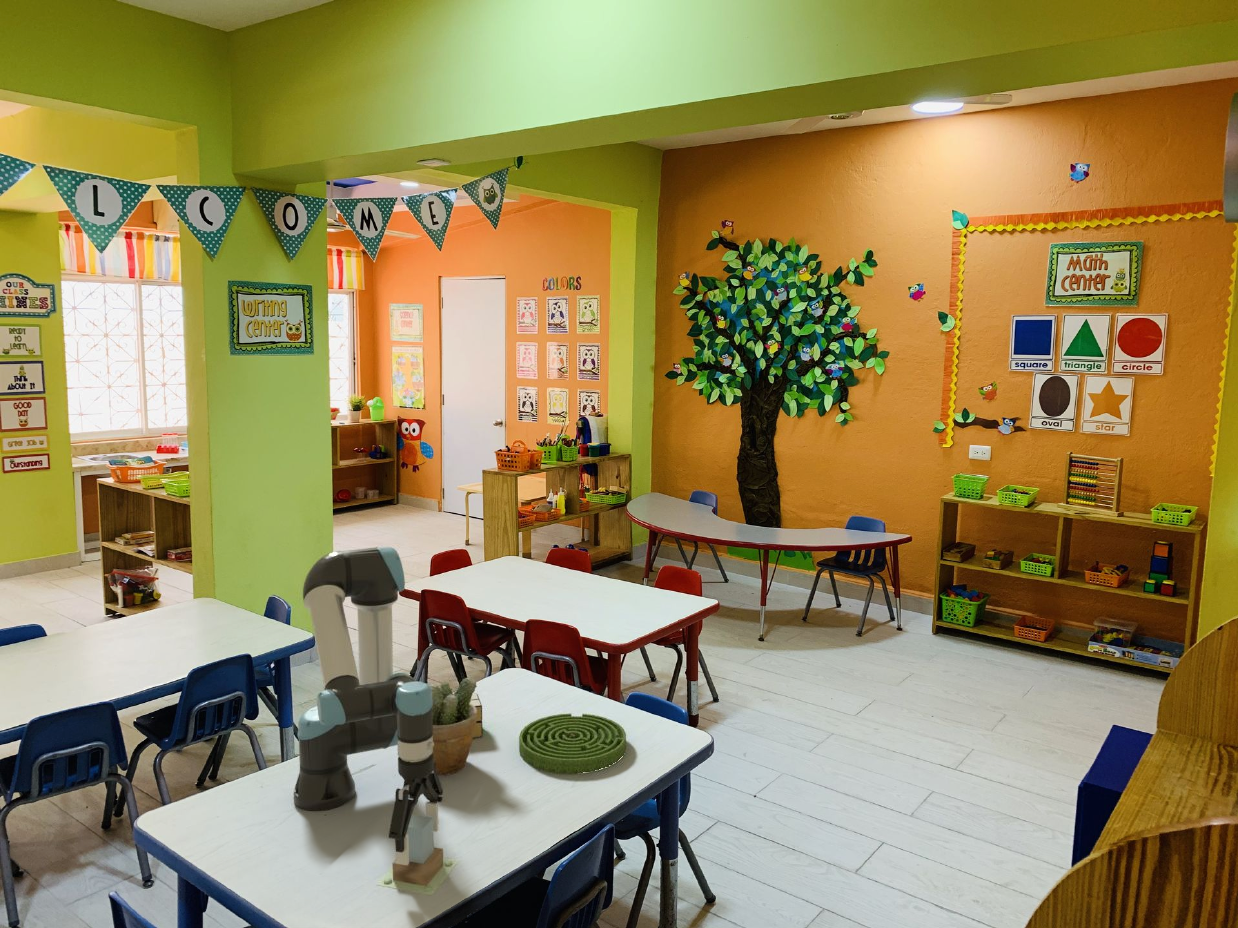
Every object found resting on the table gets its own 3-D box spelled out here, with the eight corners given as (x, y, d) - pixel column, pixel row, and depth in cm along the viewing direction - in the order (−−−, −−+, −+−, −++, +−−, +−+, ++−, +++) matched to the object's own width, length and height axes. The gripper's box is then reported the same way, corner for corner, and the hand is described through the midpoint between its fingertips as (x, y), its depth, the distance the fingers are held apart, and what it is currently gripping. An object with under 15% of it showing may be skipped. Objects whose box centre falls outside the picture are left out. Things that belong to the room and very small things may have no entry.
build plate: (376, 888, 193) (376, 883, 193) (406, 855, 205) (406, 850, 205) (431, 899, 189) (431, 893, 189) (458, 864, 202) (458, 859, 202)
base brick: (393, 879, 194) (392, 862, 194) (410, 859, 202) (410, 842, 201) (426, 885, 192) (426, 868, 192) (443, 865, 200) (442, 848, 199)
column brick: (402, 860, 195) (401, 825, 194) (413, 847, 200) (412, 814, 198) (423, 863, 194) (422, 829, 192) (433, 851, 198) (433, 817, 197)
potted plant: (427, 788, 236) (425, 698, 233) (399, 761, 251) (397, 676, 247) (489, 769, 247) (488, 682, 243) (459, 744, 262) (458, 662, 258)
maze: (626, 727, 275) (626, 712, 274) (624, 776, 244) (625, 759, 243) (526, 725, 276) (526, 710, 275) (512, 774, 245) (512, 756, 244)
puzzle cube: (444, 727, 273) (444, 696, 272) (477, 723, 276) (477, 692, 275) (448, 741, 264) (448, 709, 262) (482, 737, 267) (482, 705, 265)
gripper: (402, 784, 180) (405, 881, 183) (456, 732, 204) (458, 819, 207) (369, 779, 182) (372, 875, 185) (427, 728, 206) (428, 814, 209)
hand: (417, 846), depth 196 cm, fingers open, 13 cm apart
